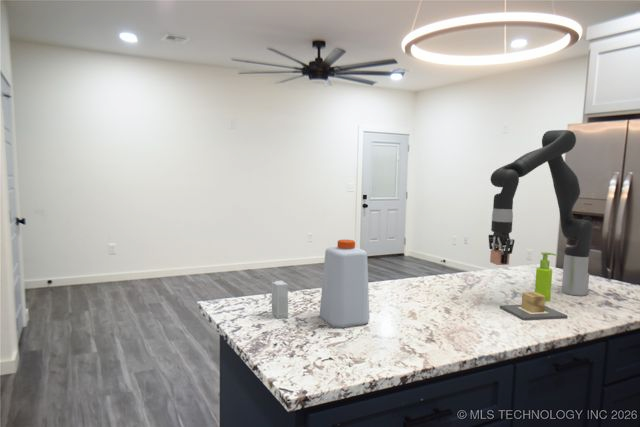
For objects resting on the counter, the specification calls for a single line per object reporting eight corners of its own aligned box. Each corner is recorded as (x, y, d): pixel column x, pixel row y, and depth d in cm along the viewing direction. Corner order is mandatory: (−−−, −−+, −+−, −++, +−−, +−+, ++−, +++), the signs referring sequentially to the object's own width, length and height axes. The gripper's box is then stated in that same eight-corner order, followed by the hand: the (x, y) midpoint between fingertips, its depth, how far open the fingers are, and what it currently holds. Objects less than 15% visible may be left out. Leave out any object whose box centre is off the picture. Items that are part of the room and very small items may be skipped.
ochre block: (533, 307, 159) (535, 292, 159) (544, 312, 154) (545, 296, 153) (521, 308, 158) (522, 292, 158) (531, 312, 153) (532, 296, 152)
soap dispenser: (554, 302, 170) (558, 254, 169) (536, 300, 172) (540, 253, 170) (549, 298, 176) (553, 252, 174) (532, 296, 178) (535, 251, 176)
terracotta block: (501, 262, 168) (502, 249, 167) (508, 264, 163) (509, 252, 162) (490, 262, 167) (490, 250, 166) (497, 264, 162) (498, 252, 161)
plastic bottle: (315, 315, 148) (317, 238, 146) (353, 310, 154) (355, 236, 152) (333, 330, 134) (336, 245, 132) (374, 324, 140) (376, 243, 138)
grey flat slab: (540, 306, 165) (540, 303, 165) (567, 318, 151) (567, 315, 151) (499, 307, 161) (499, 305, 161) (523, 320, 148) (523, 317, 147)
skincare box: (288, 317, 145) (289, 284, 144) (276, 319, 143) (277, 285, 142) (282, 312, 151) (282, 279, 150) (270, 313, 149) (271, 281, 148)
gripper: (522, 222, 157) (519, 266, 158) (499, 218, 171) (497, 258, 172) (504, 222, 155) (501, 266, 157) (483, 218, 169) (480, 258, 171)
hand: (499, 262), depth 165 cm, fingers closed on terracotta block, 5 cm apart
